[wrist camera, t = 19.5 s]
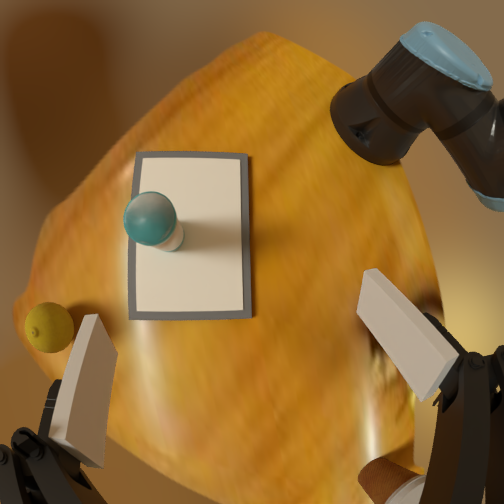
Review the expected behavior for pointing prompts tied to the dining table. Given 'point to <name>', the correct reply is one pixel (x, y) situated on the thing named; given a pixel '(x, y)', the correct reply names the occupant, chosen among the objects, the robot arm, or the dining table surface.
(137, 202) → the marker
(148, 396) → the dining table surface
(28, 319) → the lemon
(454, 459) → the robot arm
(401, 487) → the disposable coffee cup
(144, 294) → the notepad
